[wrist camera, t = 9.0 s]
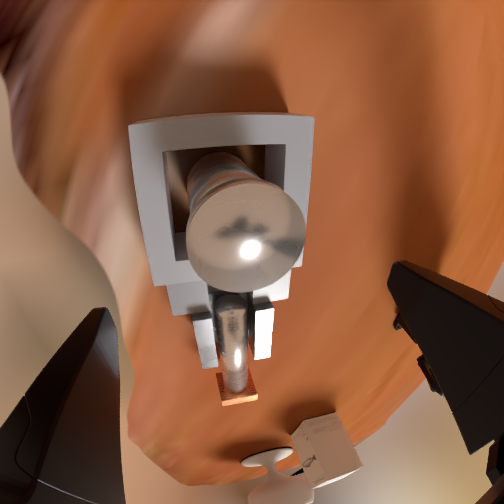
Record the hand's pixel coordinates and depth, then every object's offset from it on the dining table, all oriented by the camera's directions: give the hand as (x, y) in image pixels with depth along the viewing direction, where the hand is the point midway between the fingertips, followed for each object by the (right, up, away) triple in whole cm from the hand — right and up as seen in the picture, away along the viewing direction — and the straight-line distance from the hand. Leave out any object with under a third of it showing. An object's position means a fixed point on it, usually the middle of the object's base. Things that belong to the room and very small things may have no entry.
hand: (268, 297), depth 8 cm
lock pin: (-2, -6, +15) cm, 16 cm away
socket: (-3, +4, +10) cm, 11 cm away
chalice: (+3, -44, +41) cm, 60 cm away
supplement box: (+11, -30, +35) cm, 48 cm away
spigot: (-3, +5, +9) cm, 11 cm away
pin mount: (-3, -3, +14) cm, 15 cm away
